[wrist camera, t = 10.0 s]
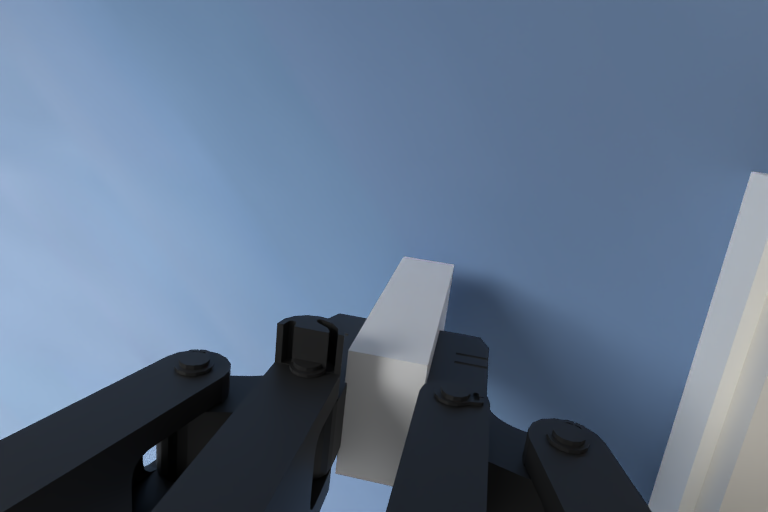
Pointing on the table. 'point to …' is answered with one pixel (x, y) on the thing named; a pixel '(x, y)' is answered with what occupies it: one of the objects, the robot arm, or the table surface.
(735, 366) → the panel
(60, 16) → the table surface
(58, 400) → the table surface
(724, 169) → the table surface
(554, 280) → the table surface
